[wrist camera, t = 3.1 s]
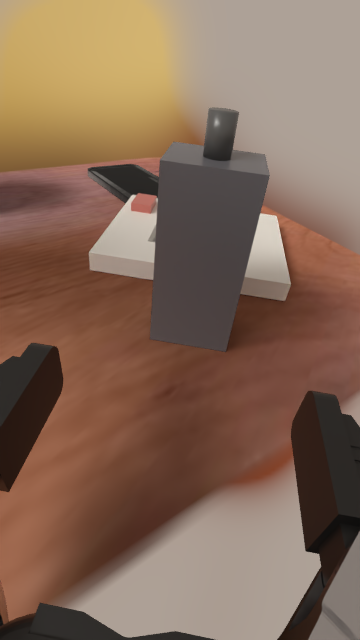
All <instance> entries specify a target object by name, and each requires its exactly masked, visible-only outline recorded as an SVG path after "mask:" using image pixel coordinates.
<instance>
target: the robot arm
mask: <svg viewBox="0 0 360 640" xmlns="http://www.w3.org/2000/svg"><path fill="white" fill-rule="evenodd" d="M62 387H63V374H62V368H61V362H60V357H59V351H58V348H57V347H55V346H50V345H44V344H38V343H31V344H30V345H29V346H28V347H27V349H26V350H25V351H24V353H23V354H22V355H21V357H15V356H12V357H11V358H9V359H8V360H6V361H5V362H3V363H2V364H0V490H1V491H6V492H9V491H10V489H11V487H12V485H13V483H14V481H15V479H16V478H17V476H18V474H19V472H20V470H21V468H22V466H23V464H24V462H25V461H26V459H27V457H28V455H29V453H30V451H31V449H32V447H33V445H34V444H35V442H36V440H37V438H38V436H39V434H40V432H41V430H42V428H43V427H44V425H45V423H46V421H47V419H48V417H49V415H50V413H51V411H52V410H53V408H54V406H55V404H56V402H57V400H58V398H59V396H60V394H61V391H62ZM291 440H292V448H293V456H294V464H295V471H296V479H297V487H298V495H299V503H300V511H301V518H302V526H303V534H304V542H305V550H306V551H307V552H312V553H317V554H319V555H320V561H321V568H320V569H319V571H318V573H317V574H316V576H315V578H314V580H313V581H312V583H311V585H310V587H309V588H308V590H307V592H306V593H305V595H304V597H303V598H302V600H301V602H300V604H299V605H298V607H297V609H296V611H295V612H294V614H293V616H292V618H291V619H290V621H289V623H288V625H287V626H286V628H285V629H284V631H283V633H282V634H281V636H280V637H279V638H278V639H277V640H360V427H359V426H358V424H357V423H356V422H355V420H354V419H353V417H352V416H351V415H346V414H342V413H341V410H340V406H339V402H338V399H337V397H336V396H335V395H333V394H327V393H321V392H315V391H308V392H307V394H306V395H305V398H304V400H303V402H302V404H301V406H300V408H299V410H298V412H297V414H296V416H295V418H294V420H293V423H292V429H291ZM0 640H214V639H210V638H205V637H200V636H195V635H191V634H186V633H181V632H176V631H175V632H167V633H160V634H153V635H146V636H139V637H132V638H127V637H123V636H121V635H120V634H118V633H116V632H115V631H113V630H112V629H110V628H108V627H107V626H105V625H104V624H102V623H100V622H99V621H97V620H95V619H94V618H92V617H91V616H89V615H88V614H86V613H84V612H81V611H77V610H72V609H67V608H62V607H58V606H53V605H48V604H43V603H40V604H39V606H38V609H37V612H36V613H34V614H29V615H26V616H22V617H19V618H16V619H14V620H12V621H10V622H9V619H8V612H7V605H6V599H5V595H4V590H3V587H2V583H1V581H0Z"/></svg>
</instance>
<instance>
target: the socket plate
mask: <svg viewBox="0 0 360 640" xmlns="http://www.w3.org/2000/svg"><path fill="white" fill-rule="evenodd" d="M157 204H158V198H157V196H154V195H147V194H141V193H138V194H137V195H132V196H131V197H130V199H129V200H128V201H127V202H126V204H125V205H124V206H123V208H122V209H121V210H120V212H119V213H118V214H117V216H116V217H115V218H114V220H113V221H112V222H111V224H110V225H109V226H108V228H107V229H106V230H105V232H104V233H103V234H102V236H101V237H100V238H99V240H98V241H97V242H96V243H95V245H94V246H93V247H92V249H91V250H90V251H89V264H90V270H93V271H99V272H105V273H112V274H118V275H124V276H130V277H137V278H143V279H149V280H153V275H154V257H155V240H156V222H157ZM290 286H291V282H290V277H289V272H288V268H287V263H286V258H285V253H284V248H283V244H282V239H281V234H280V229H279V225H278V220H277V216H274V215H267V214H260V216H259V220H258V224H257V228H256V232H255V236H254V240H253V244H252V248H251V252H250V256H249V261H248V265H247V269H246V273H245V277H244V281H243V285H242V289H241V293H240V294H243V295H250V296H256V297H262V298H268V299H275V300H281V301H285V300H286V297H287V294H288V291H289V289H290Z"/></svg>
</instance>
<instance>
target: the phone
mask: <svg viewBox="0 0 360 640" xmlns="http://www.w3.org/2000/svg"><path fill="white" fill-rule="evenodd" d="M88 176H89V177H90V178H91V179H93V180H94V181H95V182H97V183H98V184H100V185H101V186H102V187H104V188H105V189H107V190H108V191H109V192H111V193H112V194H113V195H115V196H116V197H118V198H119V199H120V200H122V201H123V202H124V203H126V202H127V201H128V200H129V199H130V197H131V196H132V195H137V194H138V193H141V194H147V195H154V196H157V198H158V186H159V177H157V176H156V175H154V174H152V173H150V172H149V171H147V170H145V169H143V168H142V167H140V166H138V165H134V164H125V165H113V166H102V167H91V168H88Z"/></svg>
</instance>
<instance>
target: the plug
mask: <svg viewBox="0 0 360 640" xmlns="http://www.w3.org/2000/svg"><path fill="white" fill-rule="evenodd" d="M238 115H239V112H238V111H235V110H231V109H224V108H209V111H208V119H207V128H206V136H205V143H204V146H200V145H193V144H185V143H179V142H173V143H172V145H171V146H170V147H169V149H168V150H167V151H166V153H165V154H164V155H163V157H162V158H161V159H160V168H159V186H158V204H157V222H156V240H155V257H154V275H153V293H152V311H151V329H150V339H152V340H158V341H164V342H170V343H176V344H182V345H188V346H194V347H200V348H206V349H212V350H218V351H224V352H226V349H227V345H228V341H229V337H230V333H231V329H232V325H233V321H234V317H235V313H236V309H237V305H238V301H239V297H240V293H241V289H242V285H243V281H244V277H245V273H246V269H247V265H248V261H249V256H250V252H251V248H252V244H253V240H254V236H255V232H256V228H257V224H258V220H259V216H260V212H261V208H262V204H263V200H264V196H265V192H266V188H267V184H268V180H269V176H270V175H269V170H268V166H267V161H266V157H265V154H258V153H251V152H243V151H237V150H233V143H234V138H235V132H236V127H237V121H238Z"/></svg>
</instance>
